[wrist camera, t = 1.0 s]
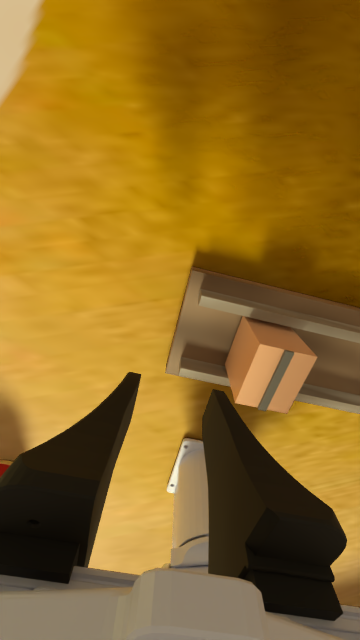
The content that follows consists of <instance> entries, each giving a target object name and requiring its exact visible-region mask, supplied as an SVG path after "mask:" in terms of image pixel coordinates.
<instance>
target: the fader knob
mask: <svg viewBox="0 0 360 640" xmlns="http://www.w3.org/2000/svg"><path fill="white" fill-rule="evenodd" d="M316 359H317V356H316V355H315V354H314V353H313V351H312V350H311V349H310V348H309V347H308V346H307V345H306V344H305V343H304V342H303V341H302V339H301V338H300V337H299V336H298V335H297V334H296V333H295V332H294V331H293V330H292V329H291V327H288V326H284V325H280V324H275V323H271V322H267V321H263V320H258V319H254V318H250V317H246V316H243V317H242V319H241V322H240V325H239V327H238V330H237V333H236V335H235V338H234V341H233V343H232V346H231V349H230V352H229V354H228V357H227V360H226V362H225V367H226V371H227V374H228V378H229V382H230V386H231V390H232V393H233V397H234V401H235V403H238V404H242V405H247V406H252V407H257V408H258V410H263V411H266V410H272V411H276V412H281V413H286V414H287V413H288V411H289V409H290V407H291V405H292V404H293V402H294V400H295V398H296V396H297V394H298V392H299V391H300V389H301V387H302V385H303V383H304V381H305V380H306V378H307V376H308V374H309V372H310V370H311V368H312V367H313V365H314V363H315V361H316Z"/></svg>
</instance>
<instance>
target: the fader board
mask: <svg viewBox="0 0 360 640" xmlns="http://www.w3.org/2000/svg"><path fill="white" fill-rule="evenodd" d="M243 316H246V317H250V318H254V319H258V320H263V321H267V322H271V323H275V324H280V325H284V326H288V327H291V329H292V330H293V331H294V332H295V333H296V334H297V335H298V336H299V337H300V338H301V339H302V341H303V342H304V343H305V344H306V345H307V346H308V347H309V348H310V349H311V350H312V351H313V353H314V354H315V355H316V356H317V359H316V361H315V363H314V365H313V367H312V368H311V370H310V372H309V374H308V376H307V378H306V380H305V381H304V383H303V385H302V387H301V389H300V391H299V392H298V394H297V396H296V398H295V400H296V401H300V402H305V403H310V404H315V405H319V406H324V407H329V408H334V409H338V410H343V411H348V412H353V413H357V414H360V308H358V307H354V306H350V305H346V304H342V303H338V302H334V301H330V300H326V299H322V298H318V297H314V296H310V295H306V294H302V293H297V292H293V291H289V290H285V289H281V288H277V287H273V286H269V285H265V284H261V283H257V282H253V281H249V280H245V279H241V278H237V277H233V276H228V275H224V274H220V273H216V272H212V271H208V270H204V269H200V268H196V267H192V268H191V272H190V275H189V279H188V283H187V287H186V291H185V295H184V299H183V302H182V306H181V310H180V314H179V318H178V322H177V326H176V329H175V333H174V337H173V341H172V345H171V349H170V353H169V356H168V360H167V364H166V372H165V373H167V374H172V375H177V376H181V377H186V378H191V379H196V380H200V381H205V382H210V383H215V384H220V385H224V386H229V387H231V386H230V382H229V378H228V374H227V371H226V367H225V362H226V360H227V357H228V354H229V352H230V349H231V346H232V343H233V341H234V338H235V335H236V333H237V330H238V327H239V325H240V322H241V319H242V317H243Z"/></svg>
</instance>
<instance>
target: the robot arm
mask: <svg viewBox="0 0 360 640" xmlns="http://www.w3.org/2000/svg"><path fill="white" fill-rule="evenodd" d="M140 378H141V374H137V373H133V372H129V373H127V375H126V376H125V378H124V379H123V381H122V382H121V383H120V384H119V385H118V387H117V388H116V389H115V390H114V391H113V392H112V393H111V394H110V395H109V396H108V397H107V398H106V399H105V400H104V401H103V402H102V403H101V404H100V405H99V406H98V407H97V408H95V409H94V410H93V411H92V412H91V413H89V414H88V415H87V416H86V417H84V418H83V419H81V420H80V421H79V422H77V423H76V424H74V425H73V426H72V427H70V428H69V429H67V430H65V431H64V432H62V433H60V434H59V435H57V436H55V437H54V438H52V439H50V440H48V441H47V442H45V443H43V444H41V445H39V446H37V447H35V448H33V449H31V450H29V451H27V452H24V453H22V454H20V455H19V456H18V457H17V458H16V459H15V461H14V462H13V463H12V464H11V465H10V466H9V467H8V469H7V470H6V471H5V472H4V473H3V475H2V476H1V477H0V640H360V607H354V606H348V605H341V604H340V603H339V601H338V598H337V596H336V593H335V591H334V588H333V585H332V583H331V582H334V580H335V579H334V575H333V572H332V570H331V567H330V565H331V564H332V563H333V562H334V561H335V560H336V559H337V558H338V557H339V556H340V555H341V553H342V552H343V551H344V549H345V547H346V543H347V539H346V536H345V533H344V531H343V529H342V527H341V525H340V523H339V521H338V519H337V517H336V515H335V513H334V512H333V510H332V508H330V507H329V506H328V505H327V504H325V503H324V502H323V501H321V500H320V499H319V498H317V497H316V496H315V495H313V494H312V493H311V492H310V491H308V490H307V489H306V488H305V487H304V486H302V485H301V484H300V483H299V482H298V481H297V480H295V479H294V478H293V477H292V476H291V475H290V474H289V473H288V472H287V471H286V470H285V469H284V468H283V467H282V466H281V465H280V464H279V463H278V462H277V461H275V459H274V458H273V457H272V456H271V455H270V454H269V453H268V452H267V451H266V450H265V449H264V447H263V446H262V445H261V444H260V443H259V442H258V440H257V439H256V438H255V437H254V435H253V434H252V433H251V431H250V430H249V429H248V427H247V426H246V425H245V423H244V422H243V420H242V419H241V418H240V416H239V415H238V413H237V412H236V410H235V408H234V407H233V405H232V404H231V402H230V401H229V399H228V397H227V396H226V394H225V393H224V391H219V390H214V389H213V390H212V393H211V396H210V398H209V401H208V404H207V407H206V409H205V412H204V415H203V419H202V437H203V441H200V440H195V439H190V438H185V439H183V441H182V444H181V447H180V450H179V453H178V456H177V459H176V462H175V465H174V468H173V471H172V473H171V476H170V479H169V482H168V485H167V491H168V492H170V493H174V510H173V536H172V549H171V564H164V565H163V567H162V568H155V569H152V570H149V571H145V572H144V573H143V574H142V575H134V574H127V573H121V572H114V571H107V570H100V569H93V568H88V564H89V560H90V556H91V553H92V549H93V545H94V541H95V537H96V533H97V530H98V526H99V522H100V518H101V514H102V511H103V507H104V503H105V499H106V496H107V492H108V488H109V484H110V481H111V477H112V473H113V470H114V467H115V463H116V460H117V458H118V455H119V452H120V449H121V447H122V444H123V441H124V438H125V436H126V433H127V430H128V427H129V424H130V422H131V418H132V414H133V410H134V406H135V401H136V397H137V392H138V387H139V383H140ZM185 445H187V446H185Z"/></svg>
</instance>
